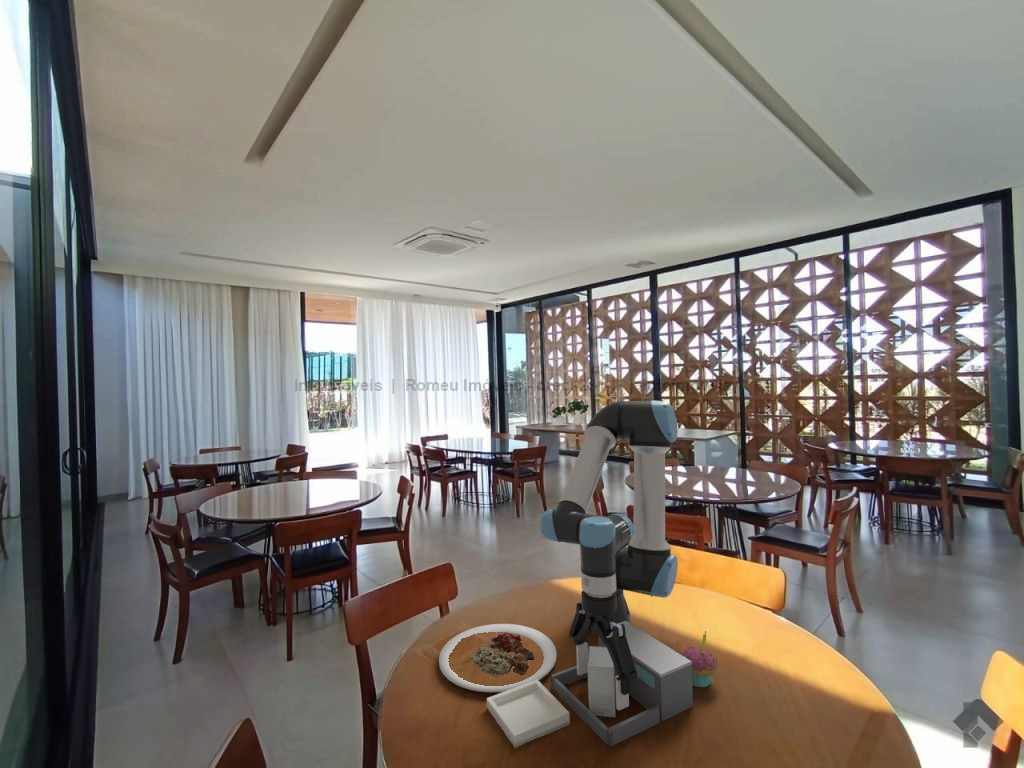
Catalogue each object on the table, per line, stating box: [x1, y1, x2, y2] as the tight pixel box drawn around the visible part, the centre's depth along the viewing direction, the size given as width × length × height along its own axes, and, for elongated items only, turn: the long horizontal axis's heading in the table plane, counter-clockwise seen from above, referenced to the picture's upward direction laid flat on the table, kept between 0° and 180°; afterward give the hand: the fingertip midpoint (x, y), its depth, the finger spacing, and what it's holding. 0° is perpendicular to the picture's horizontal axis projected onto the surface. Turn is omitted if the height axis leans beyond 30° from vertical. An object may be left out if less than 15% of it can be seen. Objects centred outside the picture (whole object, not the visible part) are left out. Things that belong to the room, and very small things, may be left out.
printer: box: [550, 621, 694, 748], centre depth 105 cm, size 21×23×10 cm
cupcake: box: [678, 630, 718, 688], centre depth 109 cm, size 9×8×12 cm
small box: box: [587, 645, 617, 718], centre depth 103 cm, size 8×6×10 cm
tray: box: [486, 680, 571, 748], centre depth 99 cm, size 13×13×2 cm
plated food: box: [438, 623, 558, 693], centre depth 121 cm, size 30×30×3 cm
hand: (601, 689), depth 102 cm, fingers open, 13 cm apart
